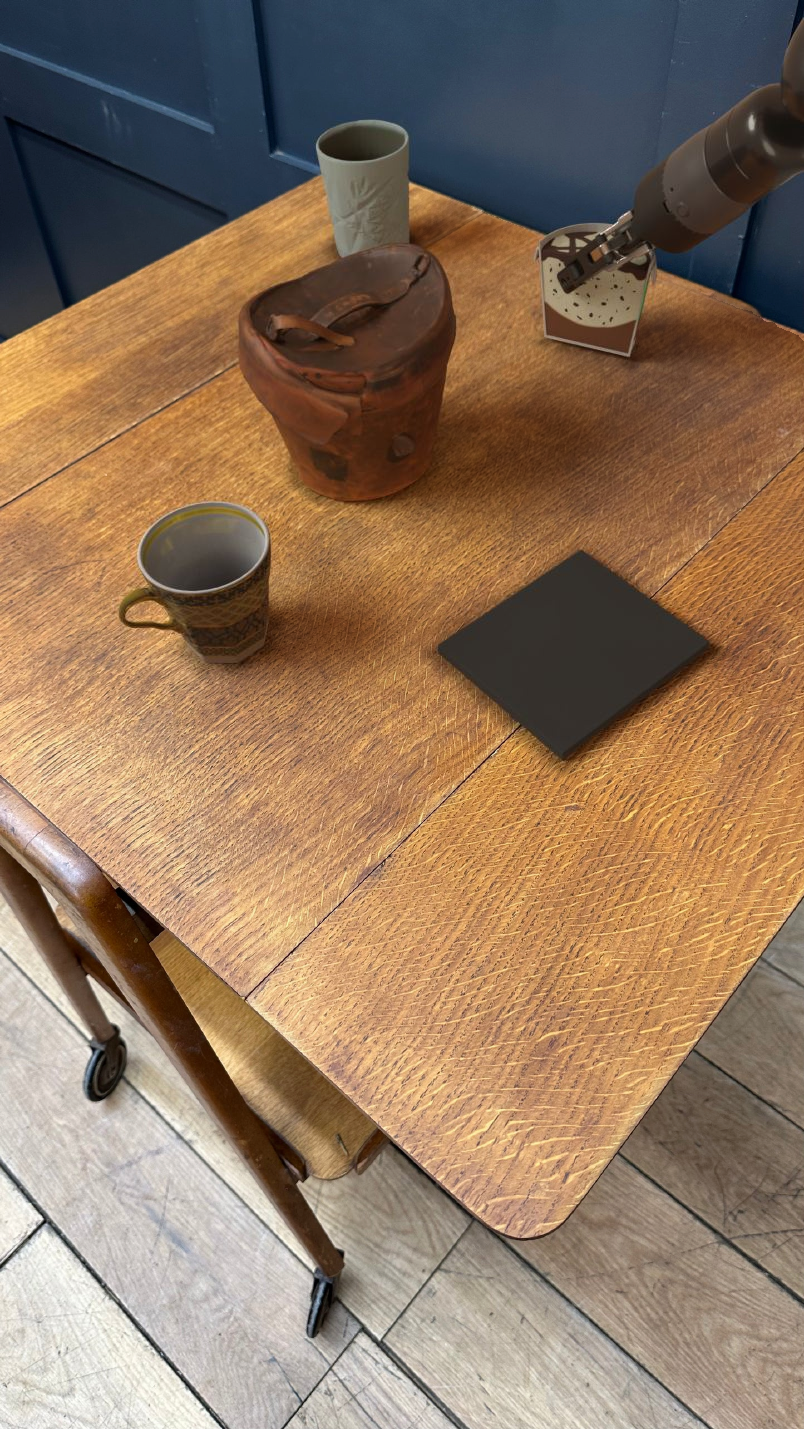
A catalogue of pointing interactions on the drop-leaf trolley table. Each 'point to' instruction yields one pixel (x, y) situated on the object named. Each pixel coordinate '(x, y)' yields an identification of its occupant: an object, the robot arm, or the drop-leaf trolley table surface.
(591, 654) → the mat
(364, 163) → the embossed grey tumbler
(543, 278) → the food container
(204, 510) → the ceramic cup
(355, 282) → the case
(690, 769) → the drop-leaf trolley table surface
